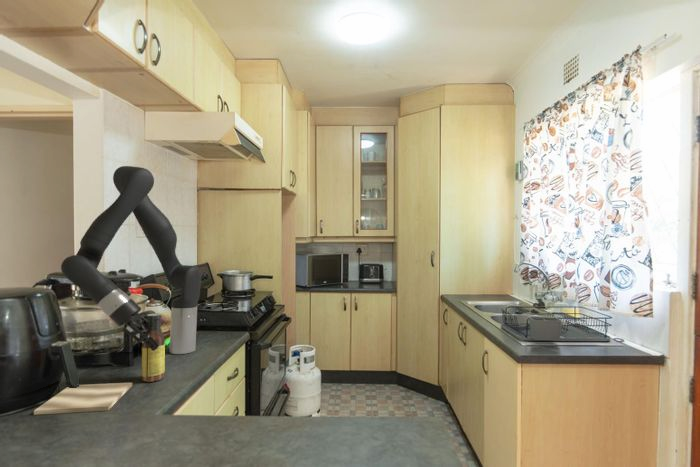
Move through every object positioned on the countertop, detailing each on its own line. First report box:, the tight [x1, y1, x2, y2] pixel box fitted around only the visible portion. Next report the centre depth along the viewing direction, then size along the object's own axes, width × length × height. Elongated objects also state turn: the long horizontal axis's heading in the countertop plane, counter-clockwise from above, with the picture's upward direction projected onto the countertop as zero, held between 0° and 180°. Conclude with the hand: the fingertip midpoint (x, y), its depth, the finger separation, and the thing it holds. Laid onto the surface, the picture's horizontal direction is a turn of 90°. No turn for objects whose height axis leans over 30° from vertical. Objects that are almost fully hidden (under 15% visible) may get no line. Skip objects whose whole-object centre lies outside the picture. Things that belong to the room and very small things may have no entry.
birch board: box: [33, 382, 133, 416], centre depth 97 cm, size 16×16×1 cm
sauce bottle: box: [141, 312, 166, 383], centre depth 113 cm, size 6×6×20 cm
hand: (160, 345), depth 113 cm, fingers closed on sauce bottle, 6 cm apart
